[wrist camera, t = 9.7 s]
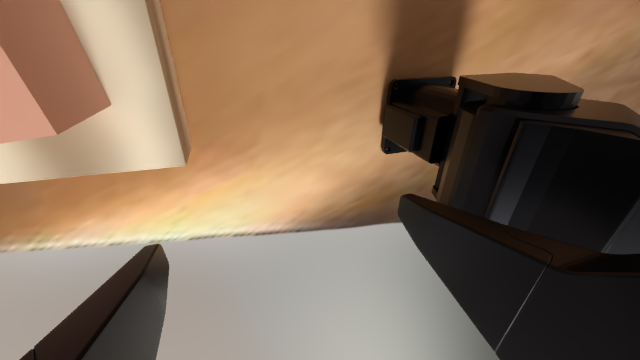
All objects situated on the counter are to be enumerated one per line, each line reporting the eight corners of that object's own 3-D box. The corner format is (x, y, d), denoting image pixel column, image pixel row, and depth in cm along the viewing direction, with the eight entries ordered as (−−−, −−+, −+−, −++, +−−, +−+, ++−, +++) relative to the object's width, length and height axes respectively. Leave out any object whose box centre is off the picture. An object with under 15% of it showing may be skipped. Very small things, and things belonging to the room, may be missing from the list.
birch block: (149, -50, 14) (125, -78, 10) (192, 143, 19) (185, 165, 16) (-153, -86, 10) (-329, -144, 7) (-1, 158, 16) (-62, 189, 12)
